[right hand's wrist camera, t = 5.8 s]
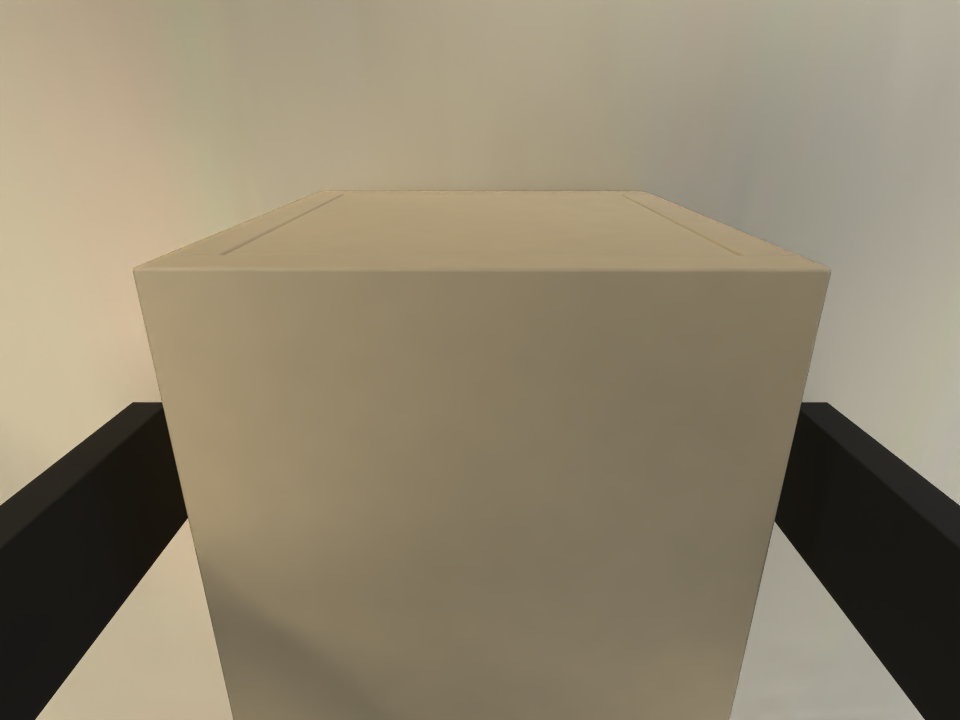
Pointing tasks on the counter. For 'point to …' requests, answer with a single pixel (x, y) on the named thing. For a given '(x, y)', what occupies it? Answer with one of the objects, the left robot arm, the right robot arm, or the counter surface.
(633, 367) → the cabinet
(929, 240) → the counter surface
